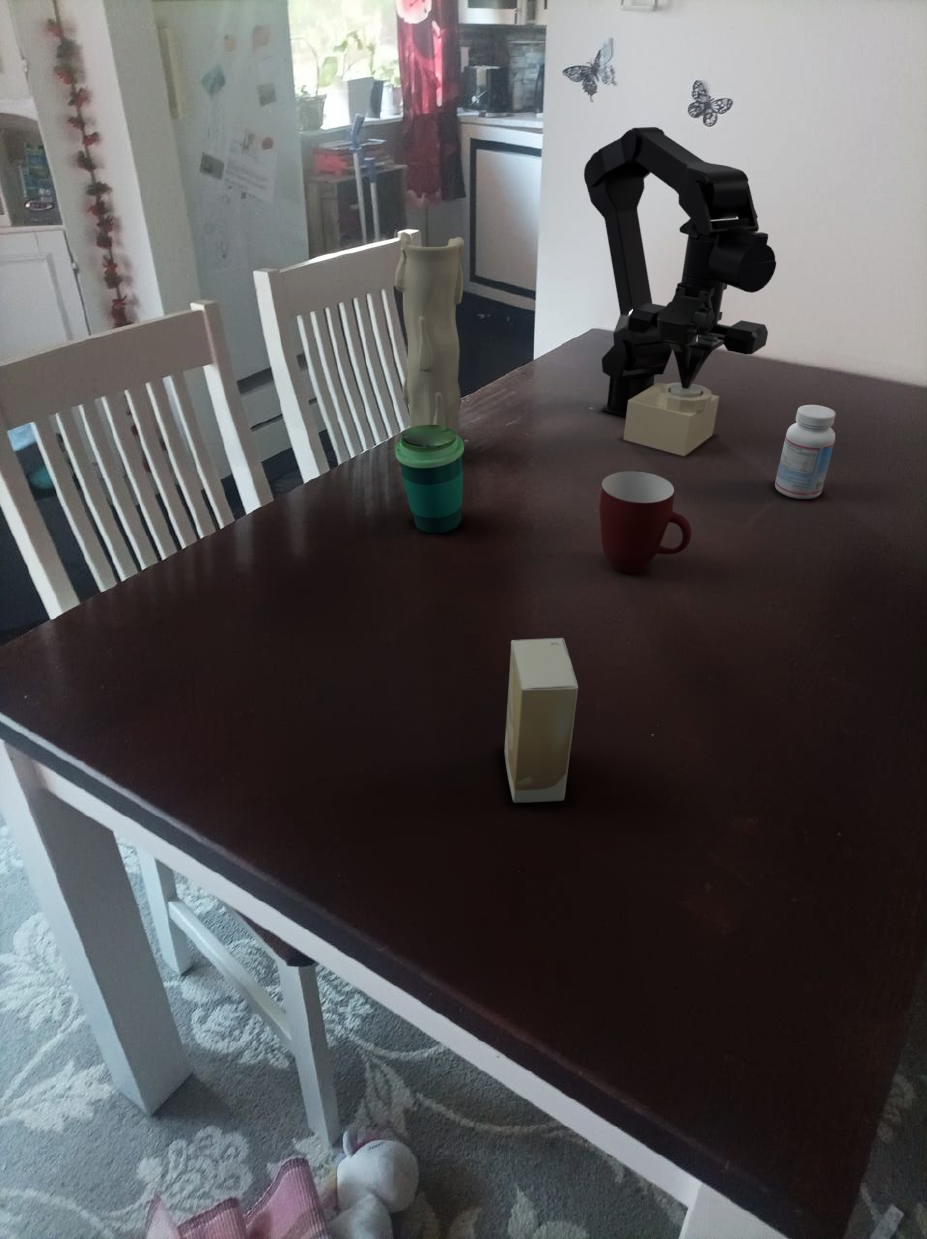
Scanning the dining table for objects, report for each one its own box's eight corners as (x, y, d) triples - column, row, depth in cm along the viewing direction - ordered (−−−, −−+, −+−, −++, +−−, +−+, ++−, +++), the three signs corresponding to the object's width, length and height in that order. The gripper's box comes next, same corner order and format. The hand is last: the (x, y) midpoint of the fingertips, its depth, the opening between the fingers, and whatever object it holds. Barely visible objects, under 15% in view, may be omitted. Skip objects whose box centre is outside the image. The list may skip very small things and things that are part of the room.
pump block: (623, 439, 131) (629, 388, 127) (653, 420, 138) (660, 370, 133) (688, 457, 126) (697, 404, 121) (716, 436, 133) (726, 385, 128)
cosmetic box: (503, 751, 75) (508, 636, 68) (552, 749, 75) (563, 634, 68) (512, 807, 70) (520, 688, 63) (566, 804, 70) (579, 685, 63)
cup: (475, 532, 107) (477, 440, 100) (416, 547, 104) (414, 454, 97) (444, 505, 113) (444, 417, 106) (387, 519, 109) (383, 429, 103)
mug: (685, 555, 103) (699, 477, 97) (682, 590, 96) (697, 510, 91) (596, 543, 105) (604, 467, 99) (587, 577, 98) (596, 498, 93)
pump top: (663, 403, 126) (665, 388, 125) (676, 394, 129) (678, 380, 128) (691, 410, 124) (693, 395, 123) (704, 401, 127) (706, 386, 126)
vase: (394, 461, 124) (385, 235, 107) (419, 439, 130) (414, 223, 113) (449, 471, 121) (449, 241, 104) (472, 448, 128) (475, 228, 111)
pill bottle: (804, 479, 120) (824, 400, 114) (829, 498, 116) (852, 417, 109) (765, 483, 119) (783, 404, 113) (789, 503, 114) (809, 421, 108)
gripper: (613, 275, 116) (601, 388, 125) (748, 298, 107) (724, 419, 116) (651, 260, 123) (637, 369, 132) (780, 281, 114) (756, 396, 123)
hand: (685, 387), depth 126 cm, fingers closed, pressing on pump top
